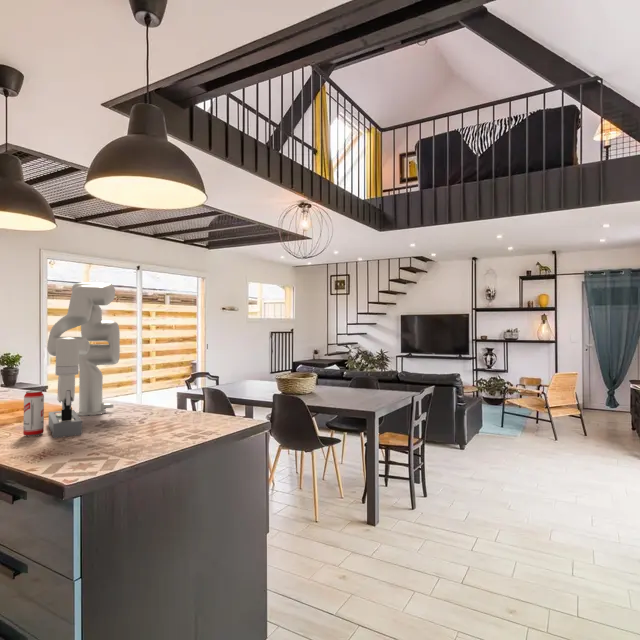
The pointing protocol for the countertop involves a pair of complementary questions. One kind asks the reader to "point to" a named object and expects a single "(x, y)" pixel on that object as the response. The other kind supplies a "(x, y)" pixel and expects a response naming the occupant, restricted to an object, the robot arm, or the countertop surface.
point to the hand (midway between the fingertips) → (66, 420)
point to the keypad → (65, 425)
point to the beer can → (33, 413)
